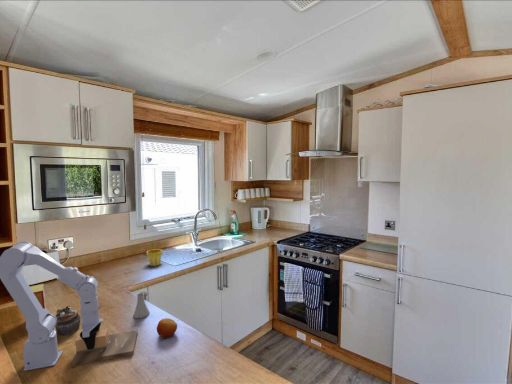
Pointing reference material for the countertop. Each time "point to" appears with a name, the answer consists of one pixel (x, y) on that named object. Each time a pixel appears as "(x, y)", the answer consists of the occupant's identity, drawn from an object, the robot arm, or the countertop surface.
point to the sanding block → (100, 342)
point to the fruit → (166, 328)
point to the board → (110, 349)
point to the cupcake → (67, 321)
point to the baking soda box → (39, 294)
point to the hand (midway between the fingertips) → (92, 344)
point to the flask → (141, 307)
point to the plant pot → (154, 256)
